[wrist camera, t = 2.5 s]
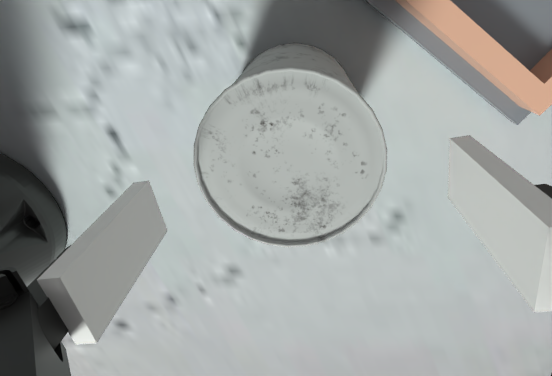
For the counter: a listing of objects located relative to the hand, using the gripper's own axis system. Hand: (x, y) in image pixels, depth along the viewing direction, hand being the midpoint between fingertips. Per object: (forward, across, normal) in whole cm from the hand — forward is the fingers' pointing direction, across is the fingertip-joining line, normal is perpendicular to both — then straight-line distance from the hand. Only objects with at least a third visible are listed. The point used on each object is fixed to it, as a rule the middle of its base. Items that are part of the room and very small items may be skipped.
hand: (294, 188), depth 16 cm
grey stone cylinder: (+15, 0, 0) cm, 15 cm away
